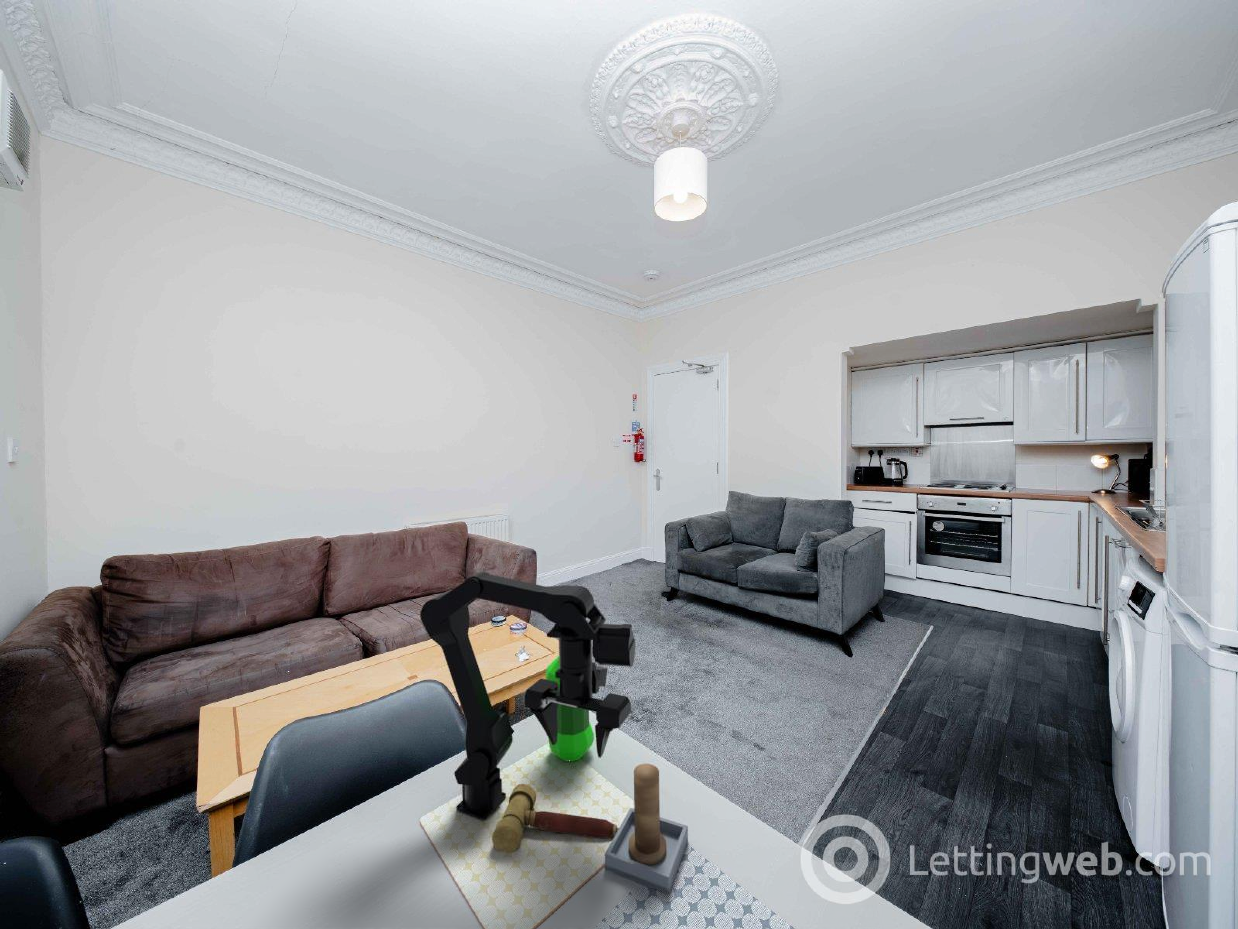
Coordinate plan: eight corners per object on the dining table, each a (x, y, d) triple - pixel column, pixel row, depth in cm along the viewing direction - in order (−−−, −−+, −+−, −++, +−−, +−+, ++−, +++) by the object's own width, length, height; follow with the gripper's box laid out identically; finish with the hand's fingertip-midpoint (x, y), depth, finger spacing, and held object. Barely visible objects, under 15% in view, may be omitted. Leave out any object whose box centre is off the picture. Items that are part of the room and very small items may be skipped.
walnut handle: (620, 851, 74) (619, 773, 74) (644, 828, 78) (643, 755, 78) (651, 873, 70) (649, 791, 70) (673, 848, 74) (672, 770, 74)
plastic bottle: (571, 733, 107) (569, 625, 107) (605, 752, 100) (603, 636, 100) (537, 755, 100) (534, 638, 99) (571, 777, 93) (568, 651, 92)
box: (605, 870, 72) (604, 854, 71) (630, 822, 81) (630, 808, 81) (668, 894, 67) (668, 877, 67) (687, 841, 77) (687, 826, 77)
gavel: (626, 796, 83) (621, 843, 73) (625, 821, 83) (619, 871, 73) (512, 781, 85) (492, 824, 75) (511, 806, 85) (490, 852, 75)
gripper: (642, 652, 85) (643, 736, 85) (554, 637, 93) (555, 715, 93) (616, 678, 75) (618, 774, 75) (520, 660, 83) (522, 747, 83)
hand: (577, 749), depth 82 cm, fingers open, 9 cm apart
